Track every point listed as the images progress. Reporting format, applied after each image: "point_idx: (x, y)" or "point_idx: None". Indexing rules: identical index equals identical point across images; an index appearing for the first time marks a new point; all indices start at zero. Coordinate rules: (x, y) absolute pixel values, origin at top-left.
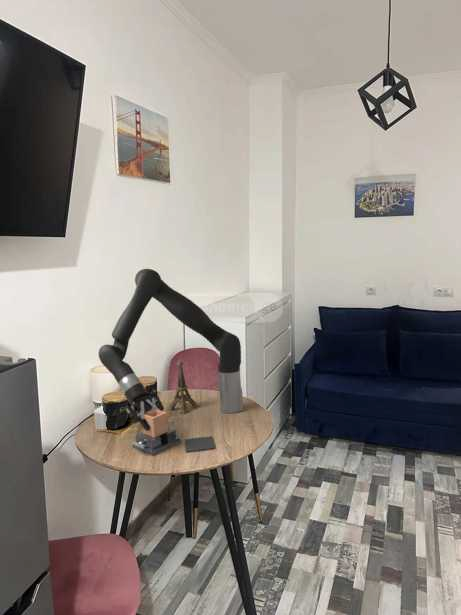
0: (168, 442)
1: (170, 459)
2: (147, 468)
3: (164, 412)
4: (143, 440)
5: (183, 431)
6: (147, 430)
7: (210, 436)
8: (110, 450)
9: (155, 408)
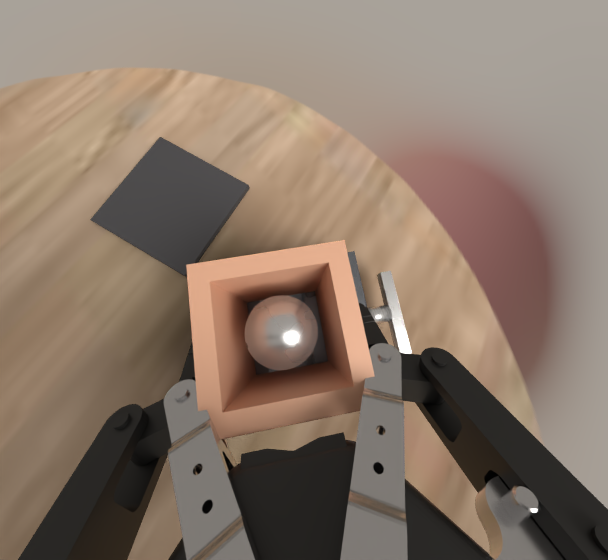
0: None
1: (317, 188)
2: (405, 190)
3: (193, 284)
4: None
5: (122, 366)
6: None
7: (96, 220)
8: None
9: (202, 426)
